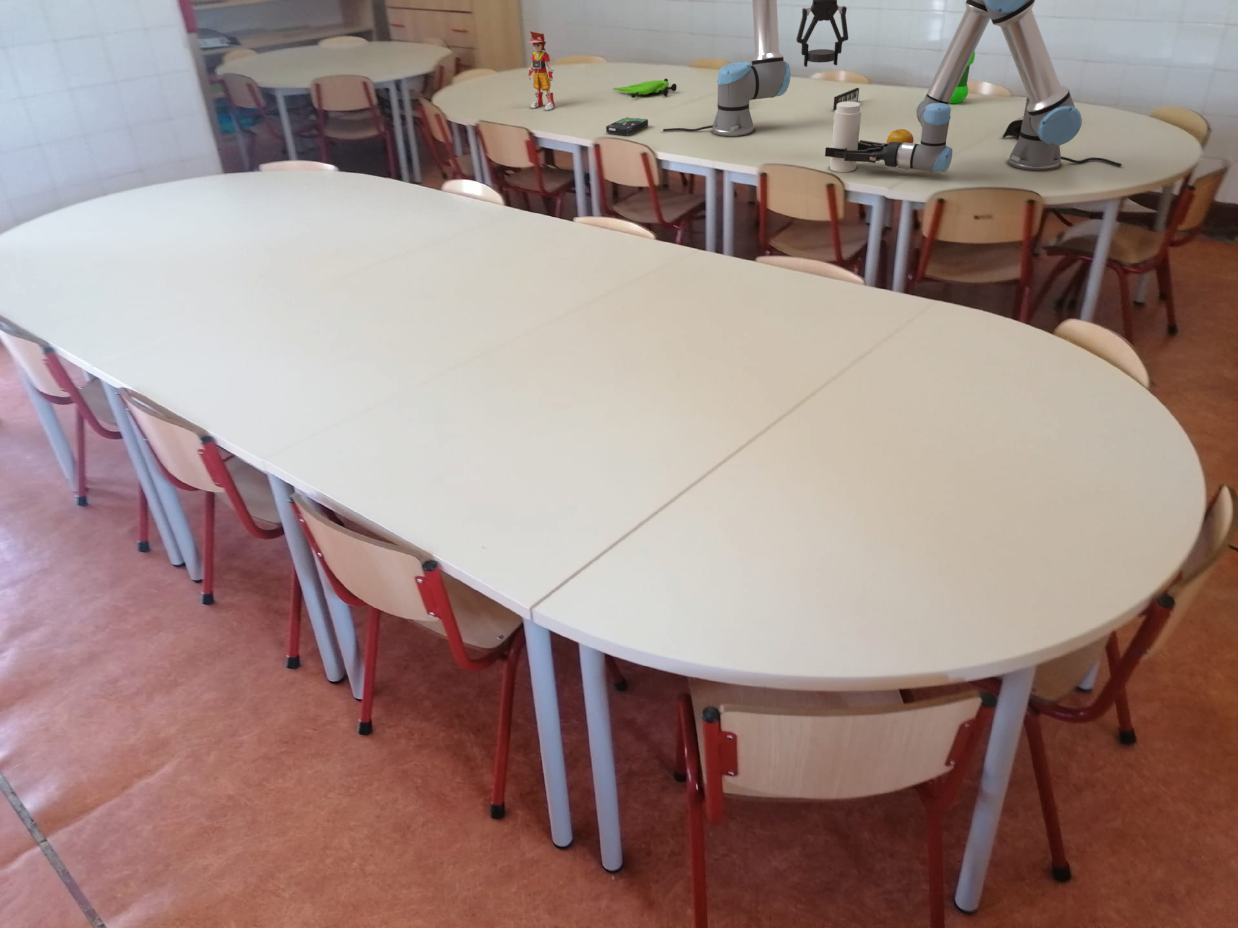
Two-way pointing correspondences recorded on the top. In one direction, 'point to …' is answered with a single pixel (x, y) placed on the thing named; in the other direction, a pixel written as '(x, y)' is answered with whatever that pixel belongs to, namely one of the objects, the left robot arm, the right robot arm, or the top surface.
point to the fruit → (900, 136)
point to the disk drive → (627, 126)
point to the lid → (821, 55)
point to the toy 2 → (648, 88)
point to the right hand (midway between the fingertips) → (830, 148)
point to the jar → (845, 133)
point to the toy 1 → (541, 71)
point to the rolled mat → (1014, 128)
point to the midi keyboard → (846, 97)
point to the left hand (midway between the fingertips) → (820, 65)
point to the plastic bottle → (962, 85)
